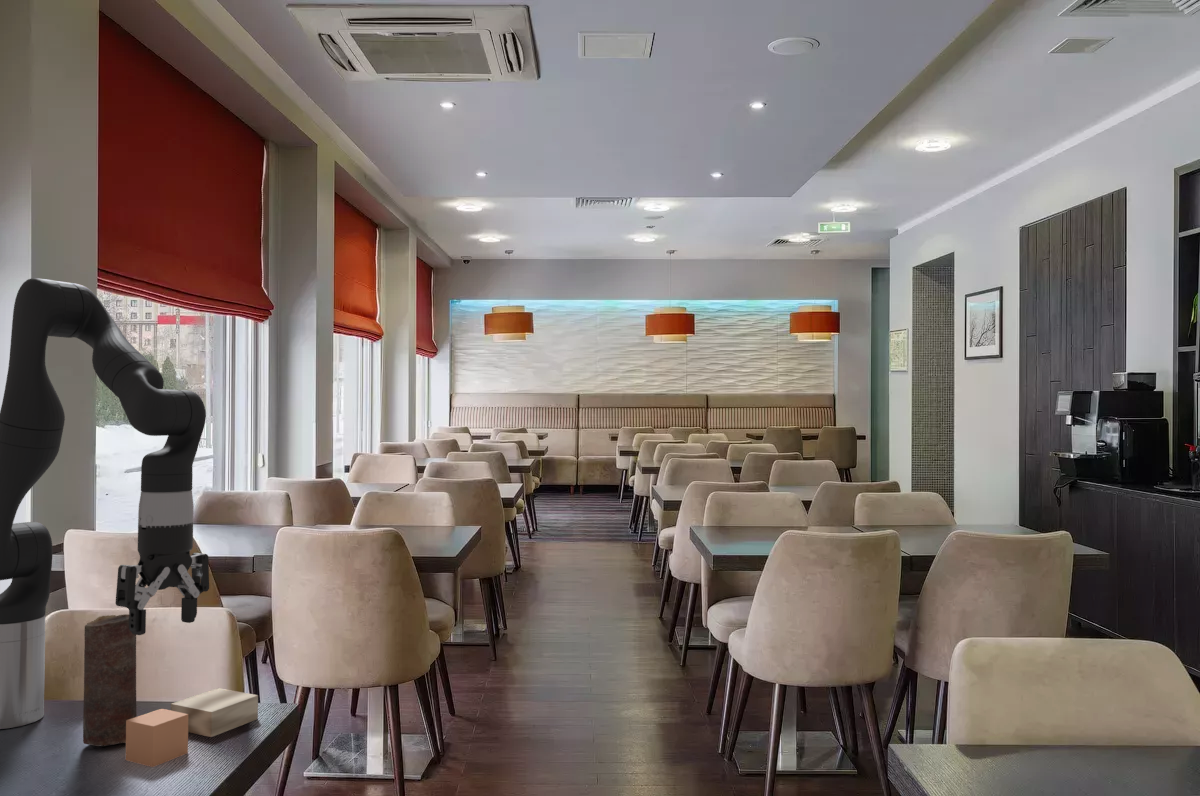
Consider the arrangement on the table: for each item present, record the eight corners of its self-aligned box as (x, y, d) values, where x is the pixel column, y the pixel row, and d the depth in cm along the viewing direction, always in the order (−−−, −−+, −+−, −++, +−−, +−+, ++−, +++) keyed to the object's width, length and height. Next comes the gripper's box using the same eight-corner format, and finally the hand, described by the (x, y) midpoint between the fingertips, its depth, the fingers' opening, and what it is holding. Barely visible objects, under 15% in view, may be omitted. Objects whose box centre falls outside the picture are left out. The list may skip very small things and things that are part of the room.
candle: (111, 755, 133) (113, 622, 133) (70, 751, 134) (72, 620, 135) (147, 737, 140) (148, 612, 141) (107, 734, 142) (109, 610, 142)
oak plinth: (170, 728, 145) (170, 703, 145) (217, 711, 153) (218, 687, 153) (211, 737, 141) (211, 712, 141) (257, 719, 149) (258, 695, 149)
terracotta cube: (125, 760, 131) (126, 720, 131) (160, 747, 137) (161, 708, 137) (152, 767, 129) (153, 726, 129) (187, 753, 134) (188, 714, 134)
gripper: (188, 514, 141) (186, 615, 141) (105, 524, 128) (103, 635, 128) (222, 517, 138) (220, 621, 137) (140, 527, 125) (137, 641, 125)
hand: (163, 628), depth 133 cm, fingers open, 8 cm apart
